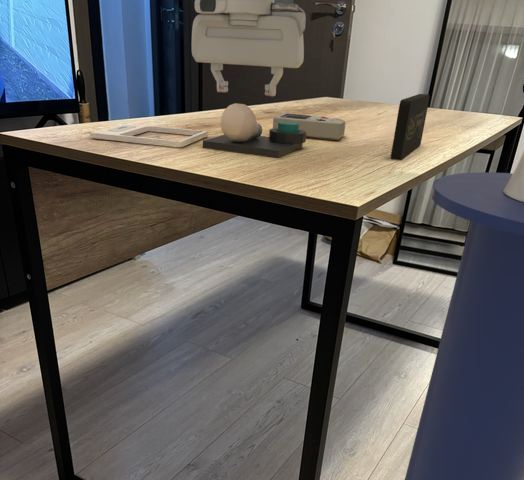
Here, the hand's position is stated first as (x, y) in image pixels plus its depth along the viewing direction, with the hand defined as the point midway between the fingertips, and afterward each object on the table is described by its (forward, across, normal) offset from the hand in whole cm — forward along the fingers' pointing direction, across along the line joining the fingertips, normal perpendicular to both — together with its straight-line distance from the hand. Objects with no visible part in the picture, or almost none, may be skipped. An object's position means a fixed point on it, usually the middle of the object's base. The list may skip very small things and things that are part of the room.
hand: (245, 94), depth 96 cm
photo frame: (+9, +18, +3) cm, 21 cm away
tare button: (+7, -7, -5) cm, 11 cm away
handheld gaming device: (+9, -5, -23) cm, 25 cm away
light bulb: (+8, 0, 0) cm, 8 cm away
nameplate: (+10, -28, -17) cm, 34 cm away
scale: (+9, -2, -1) cm, 9 cm away
